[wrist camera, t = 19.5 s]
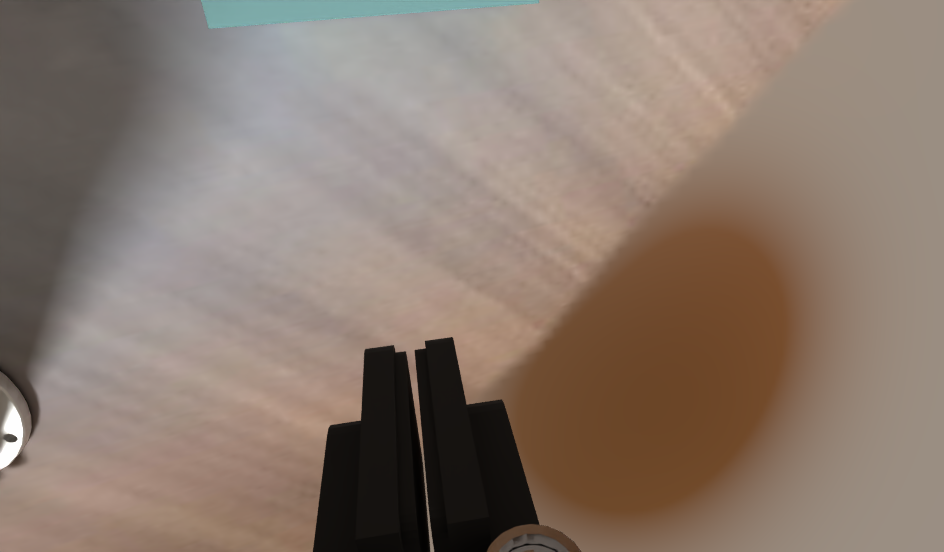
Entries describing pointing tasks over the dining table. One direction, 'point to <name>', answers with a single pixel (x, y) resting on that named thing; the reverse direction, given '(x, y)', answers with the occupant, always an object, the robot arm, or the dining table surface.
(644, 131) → the dining table surface
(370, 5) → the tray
